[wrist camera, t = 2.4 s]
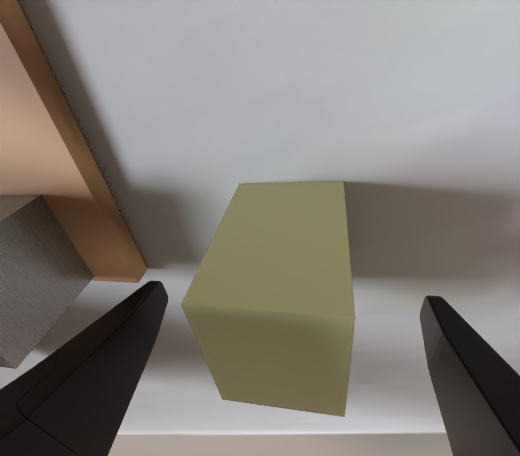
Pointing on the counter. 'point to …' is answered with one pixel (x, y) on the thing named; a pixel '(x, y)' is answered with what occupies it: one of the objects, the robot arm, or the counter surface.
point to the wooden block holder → (56, 155)
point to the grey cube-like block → (34, 274)
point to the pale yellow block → (278, 298)
